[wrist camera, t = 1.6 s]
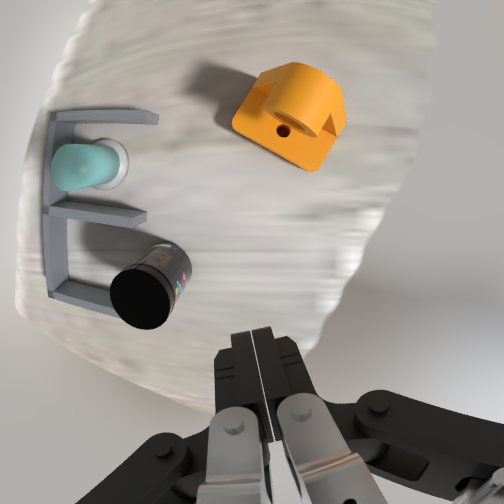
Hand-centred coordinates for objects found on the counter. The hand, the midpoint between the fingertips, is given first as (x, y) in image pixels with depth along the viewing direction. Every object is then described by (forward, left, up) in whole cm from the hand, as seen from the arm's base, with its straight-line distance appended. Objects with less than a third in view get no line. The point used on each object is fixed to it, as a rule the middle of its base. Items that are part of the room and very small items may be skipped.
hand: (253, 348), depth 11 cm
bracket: (-10, +7, -26) cm, 28 cm away
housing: (-9, -19, -26) cm, 33 cm away
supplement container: (+1, -13, -26) cm, 29 cm away
